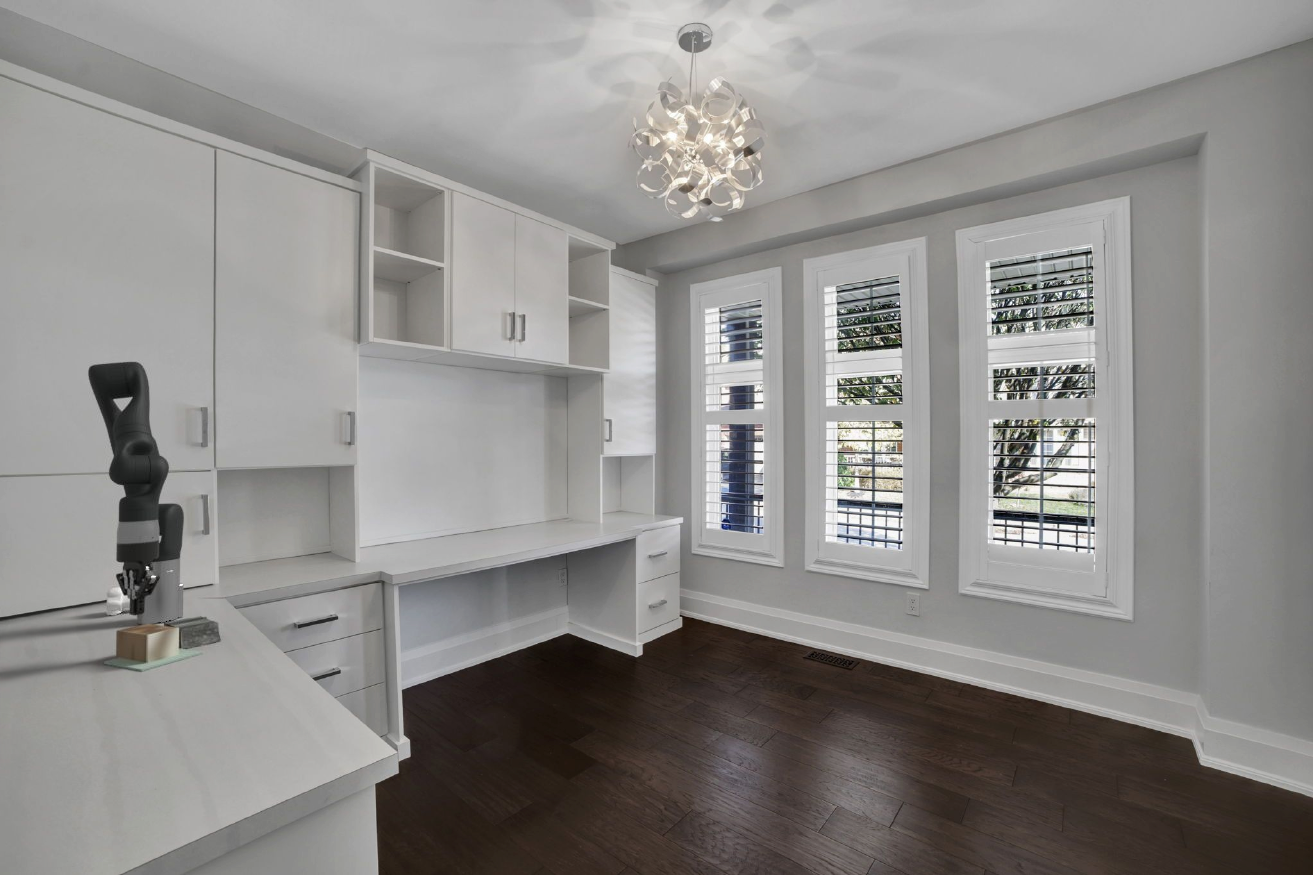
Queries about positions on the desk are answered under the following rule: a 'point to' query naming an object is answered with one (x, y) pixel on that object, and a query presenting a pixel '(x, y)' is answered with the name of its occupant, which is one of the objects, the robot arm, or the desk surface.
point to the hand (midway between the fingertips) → (136, 614)
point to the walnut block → (147, 642)
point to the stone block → (195, 631)
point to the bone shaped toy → (116, 601)
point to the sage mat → (145, 666)
